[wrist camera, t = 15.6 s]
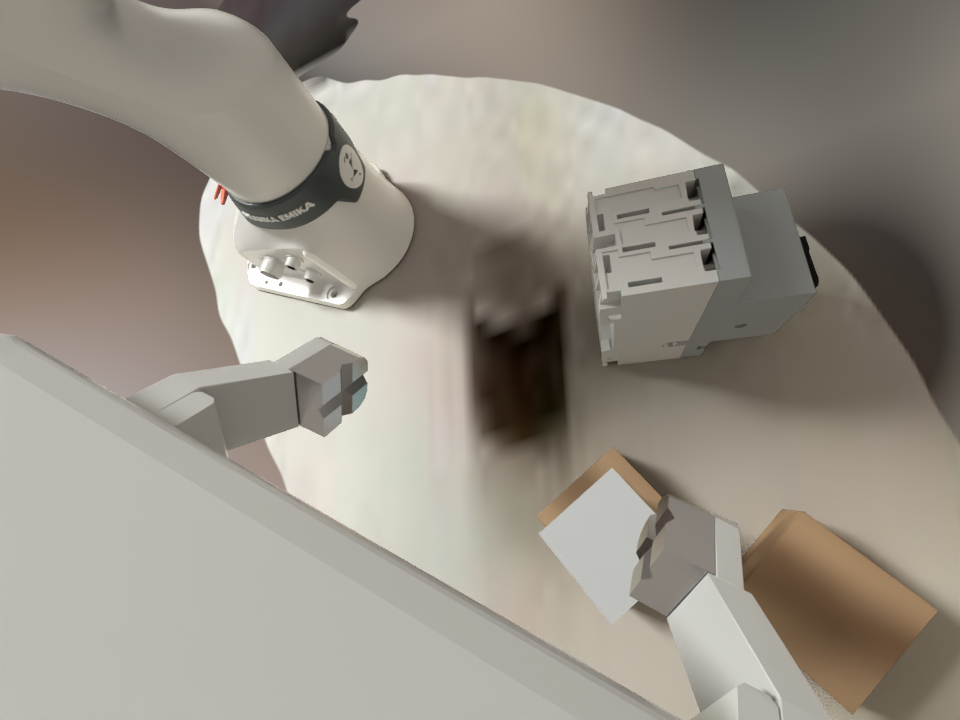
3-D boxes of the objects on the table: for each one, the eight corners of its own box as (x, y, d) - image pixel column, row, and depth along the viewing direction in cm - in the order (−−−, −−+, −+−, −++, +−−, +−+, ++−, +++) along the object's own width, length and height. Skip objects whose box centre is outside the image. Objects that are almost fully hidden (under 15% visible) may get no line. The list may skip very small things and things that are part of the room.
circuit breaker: (780, 346, 36) (888, 255, 22) (602, 366, 39) (598, 299, 25) (759, 265, 38) (844, 137, 24) (592, 292, 42) (583, 193, 28)
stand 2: (822, 686, 29) (852, 714, 25) (714, 590, 32) (727, 603, 29) (896, 595, 29) (937, 610, 26) (782, 509, 33) (804, 511, 29)
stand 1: (612, 597, 34) (612, 610, 30) (543, 513, 37) (536, 516, 33) (688, 529, 34) (697, 534, 30) (613, 451, 37) (613, 446, 33)
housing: (610, 576, 31) (611, 625, 20) (562, 519, 33) (538, 533, 22) (663, 530, 31) (692, 552, 20) (611, 475, 33) (612, 467, 22)
